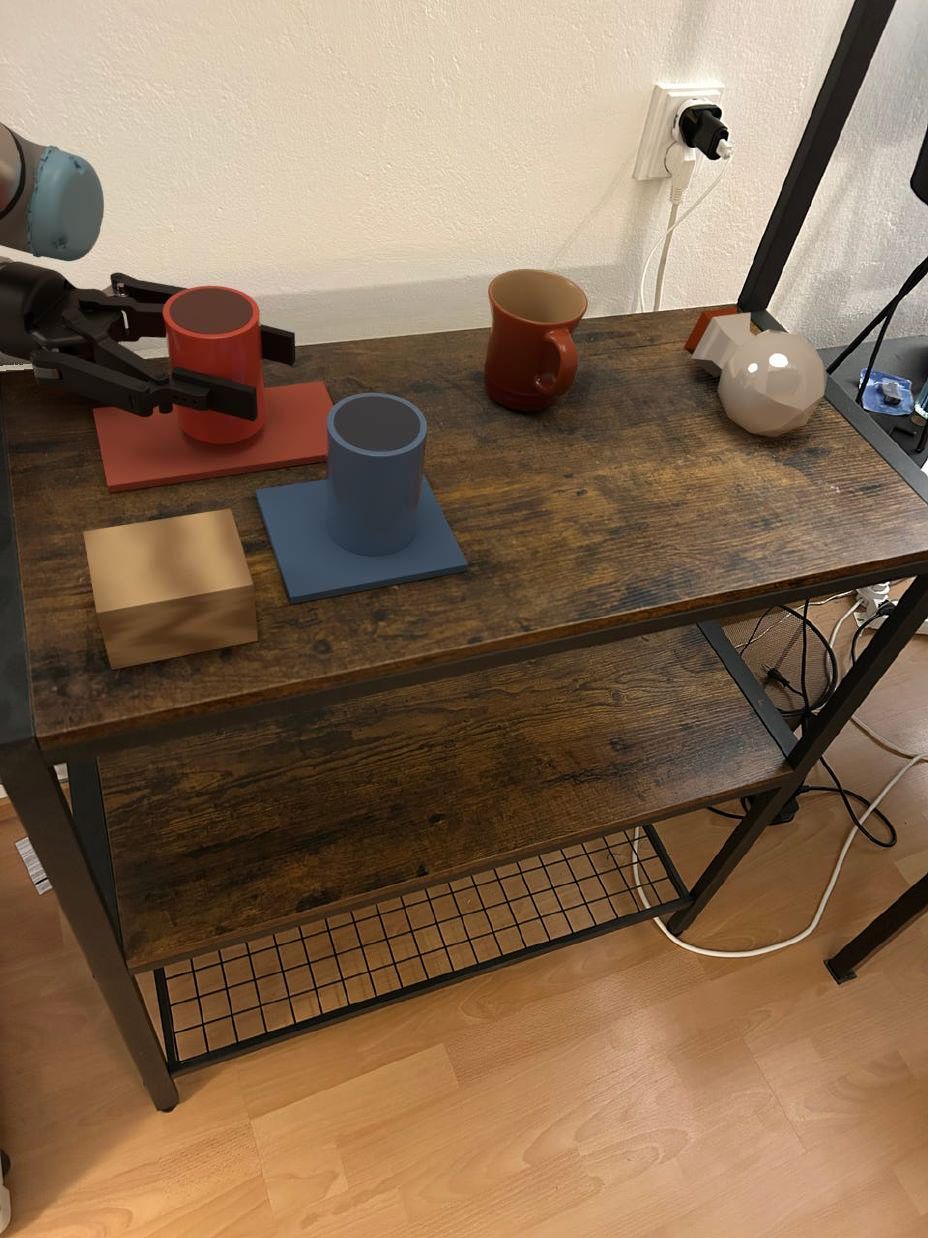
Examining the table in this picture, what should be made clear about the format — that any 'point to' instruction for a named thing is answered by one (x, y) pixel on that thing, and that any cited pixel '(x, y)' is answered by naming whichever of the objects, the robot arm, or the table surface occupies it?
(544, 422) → the table surface
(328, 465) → the blue cup
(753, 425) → the potion bottle
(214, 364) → the red cup
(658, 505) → the table surface
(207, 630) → the wooden block
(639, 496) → the table surface
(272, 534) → the blue mat
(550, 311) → the mug
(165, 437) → the red mat
